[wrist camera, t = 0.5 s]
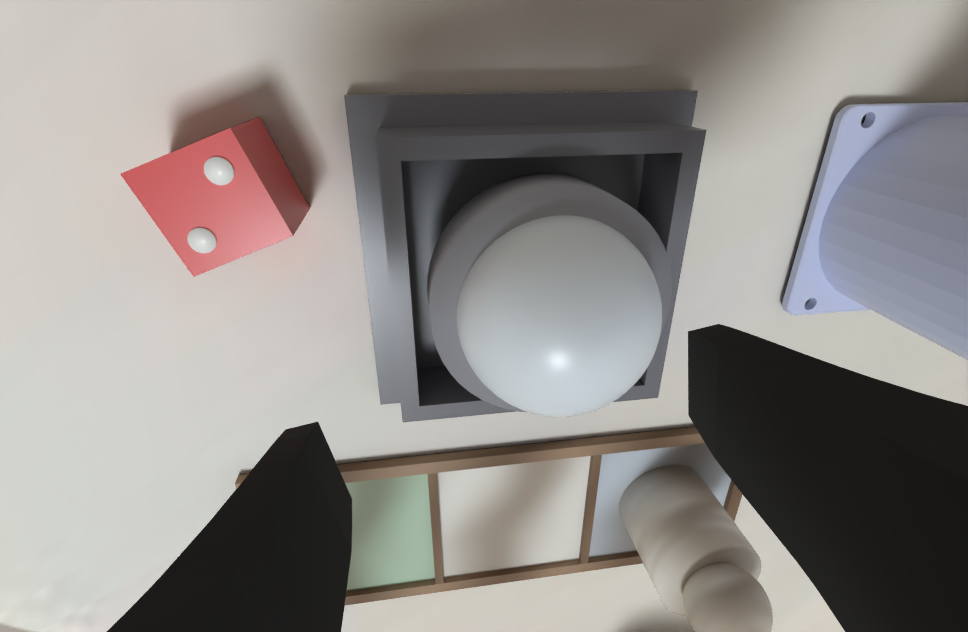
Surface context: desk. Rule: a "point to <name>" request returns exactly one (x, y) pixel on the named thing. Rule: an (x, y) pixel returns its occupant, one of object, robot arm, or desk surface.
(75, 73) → the desk surface
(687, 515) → the pawn
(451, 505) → the compartment tray
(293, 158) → the desk surface
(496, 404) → the dome
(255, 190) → the red die
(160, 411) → the desk surface
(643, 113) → the popper base
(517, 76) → the desk surface
